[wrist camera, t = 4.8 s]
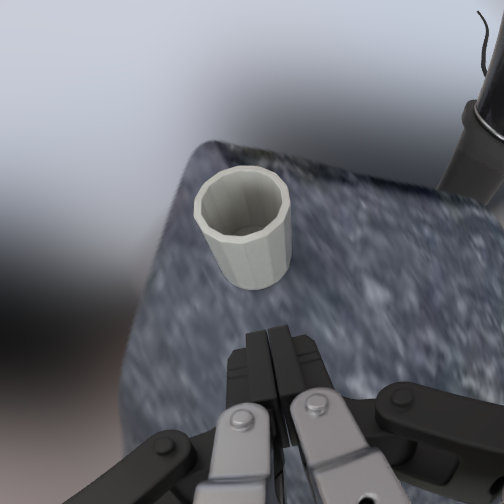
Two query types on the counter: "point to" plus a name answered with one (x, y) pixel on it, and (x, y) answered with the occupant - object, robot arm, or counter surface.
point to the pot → (247, 225)
